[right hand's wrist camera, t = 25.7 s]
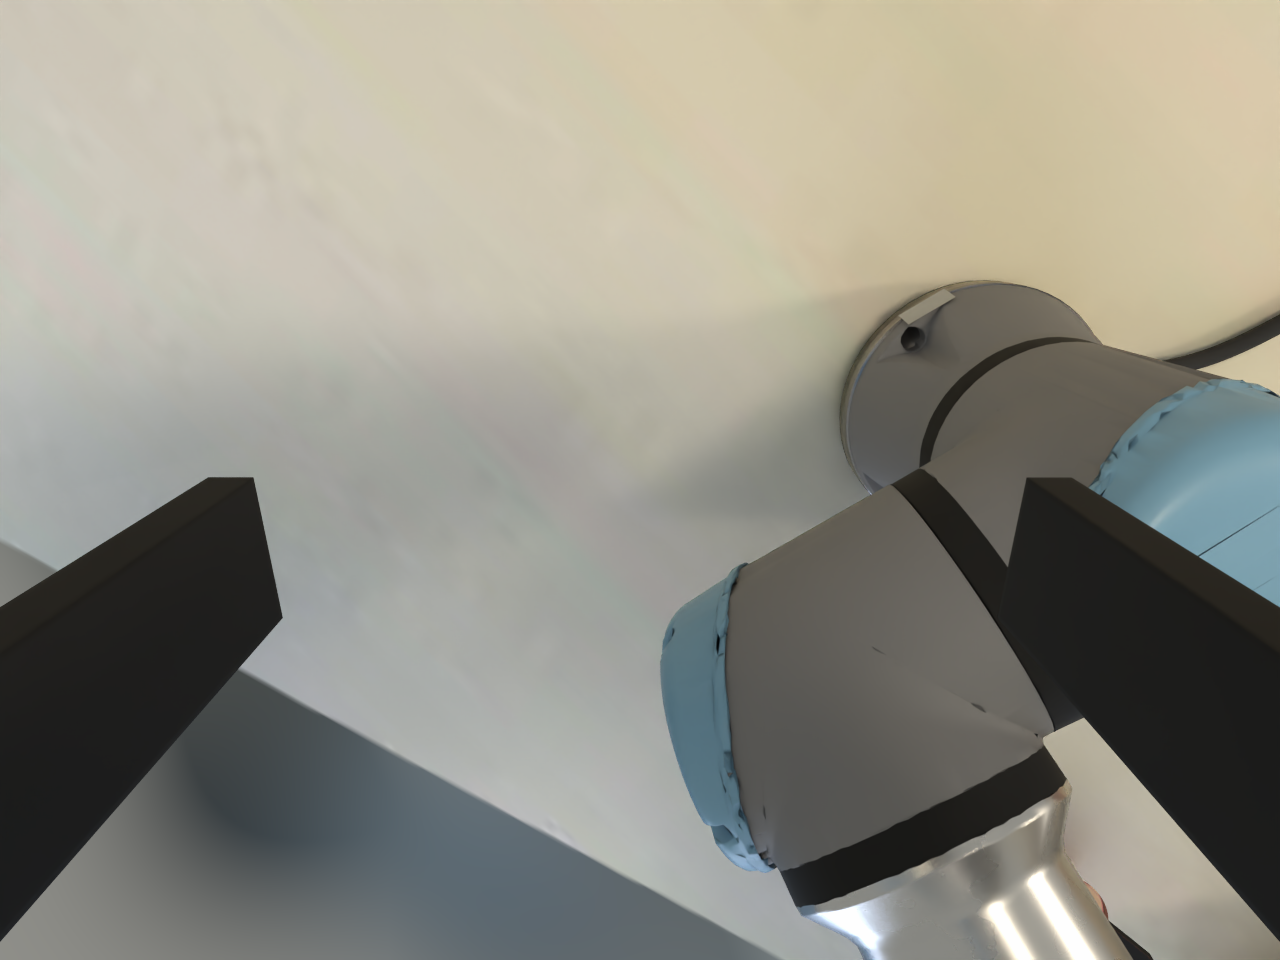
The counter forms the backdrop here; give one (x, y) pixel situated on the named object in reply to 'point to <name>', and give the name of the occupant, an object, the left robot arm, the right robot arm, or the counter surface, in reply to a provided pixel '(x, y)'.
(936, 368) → the right robot arm
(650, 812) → the counter surface
